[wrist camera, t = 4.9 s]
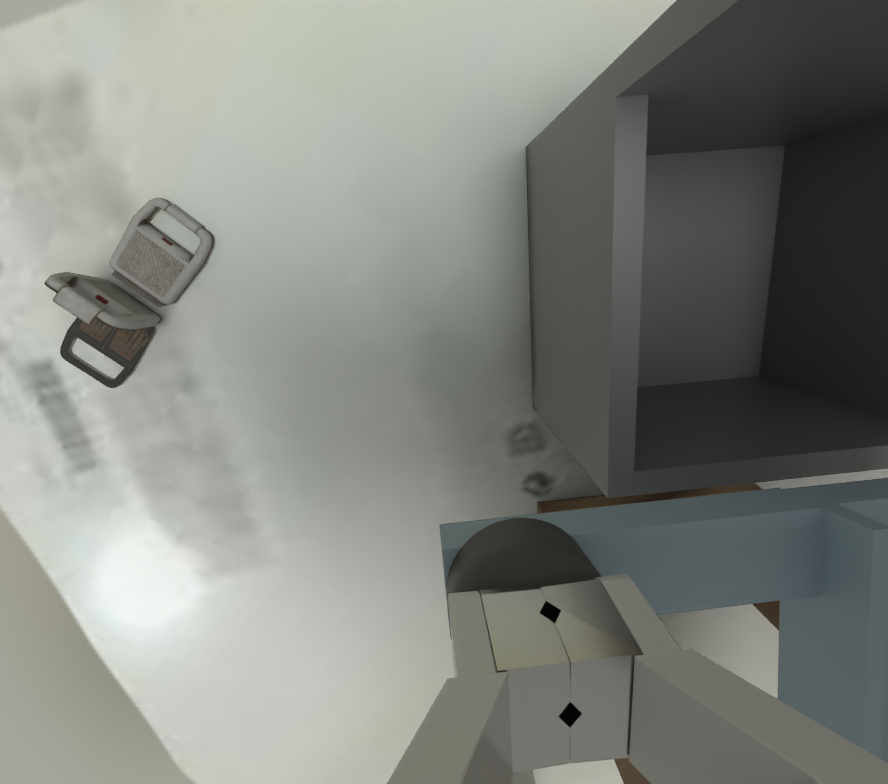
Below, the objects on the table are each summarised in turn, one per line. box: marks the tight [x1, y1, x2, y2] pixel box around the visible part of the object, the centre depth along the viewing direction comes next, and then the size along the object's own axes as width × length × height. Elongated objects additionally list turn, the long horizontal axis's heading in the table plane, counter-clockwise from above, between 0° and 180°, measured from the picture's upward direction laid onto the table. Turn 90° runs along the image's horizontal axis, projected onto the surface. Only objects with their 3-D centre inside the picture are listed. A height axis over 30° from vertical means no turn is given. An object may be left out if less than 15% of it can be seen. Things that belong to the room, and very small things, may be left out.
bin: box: [526, 0, 888, 498], centre depth 14 cm, size 12×12×16 cm
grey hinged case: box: [45, 198, 215, 388], centre depth 18 cm, size 8×3×4 cm, turn 141°
